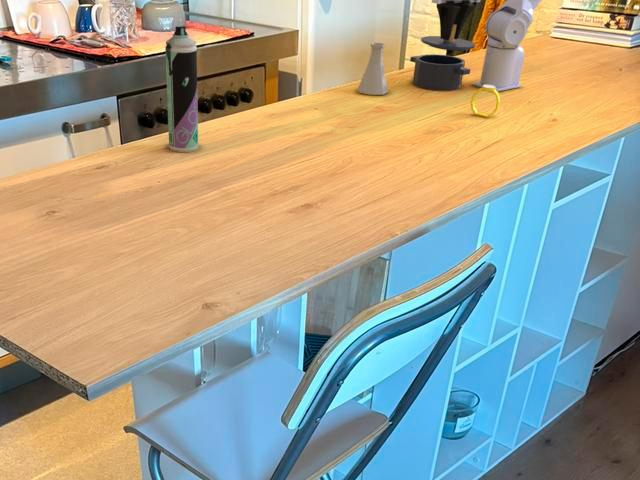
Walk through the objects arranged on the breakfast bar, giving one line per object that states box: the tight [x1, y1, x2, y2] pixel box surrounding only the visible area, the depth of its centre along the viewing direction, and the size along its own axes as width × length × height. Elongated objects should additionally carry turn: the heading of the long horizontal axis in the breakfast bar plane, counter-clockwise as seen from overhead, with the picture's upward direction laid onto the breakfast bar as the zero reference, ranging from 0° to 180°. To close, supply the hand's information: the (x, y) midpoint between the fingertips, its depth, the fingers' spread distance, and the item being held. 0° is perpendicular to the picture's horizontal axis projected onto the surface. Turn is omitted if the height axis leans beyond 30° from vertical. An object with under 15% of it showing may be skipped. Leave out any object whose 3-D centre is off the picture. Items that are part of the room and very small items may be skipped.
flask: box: [357, 42, 389, 96], centre depth 187 cm, size 7×7×10 cm
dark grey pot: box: [409, 53, 471, 92], centre depth 196 cm, size 12×17×6 cm
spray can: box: [164, 25, 199, 153], centre depth 146 cm, size 6×6×20 cm
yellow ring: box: [470, 85, 501, 118], centre depth 175 cm, size 6×3×6 cm, turn 61°
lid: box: [420, 24, 476, 52], centre depth 189 cm, size 13×13×5 cm
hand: (448, 38), depth 189 cm, fingers closed on lid, 2 cm apart
